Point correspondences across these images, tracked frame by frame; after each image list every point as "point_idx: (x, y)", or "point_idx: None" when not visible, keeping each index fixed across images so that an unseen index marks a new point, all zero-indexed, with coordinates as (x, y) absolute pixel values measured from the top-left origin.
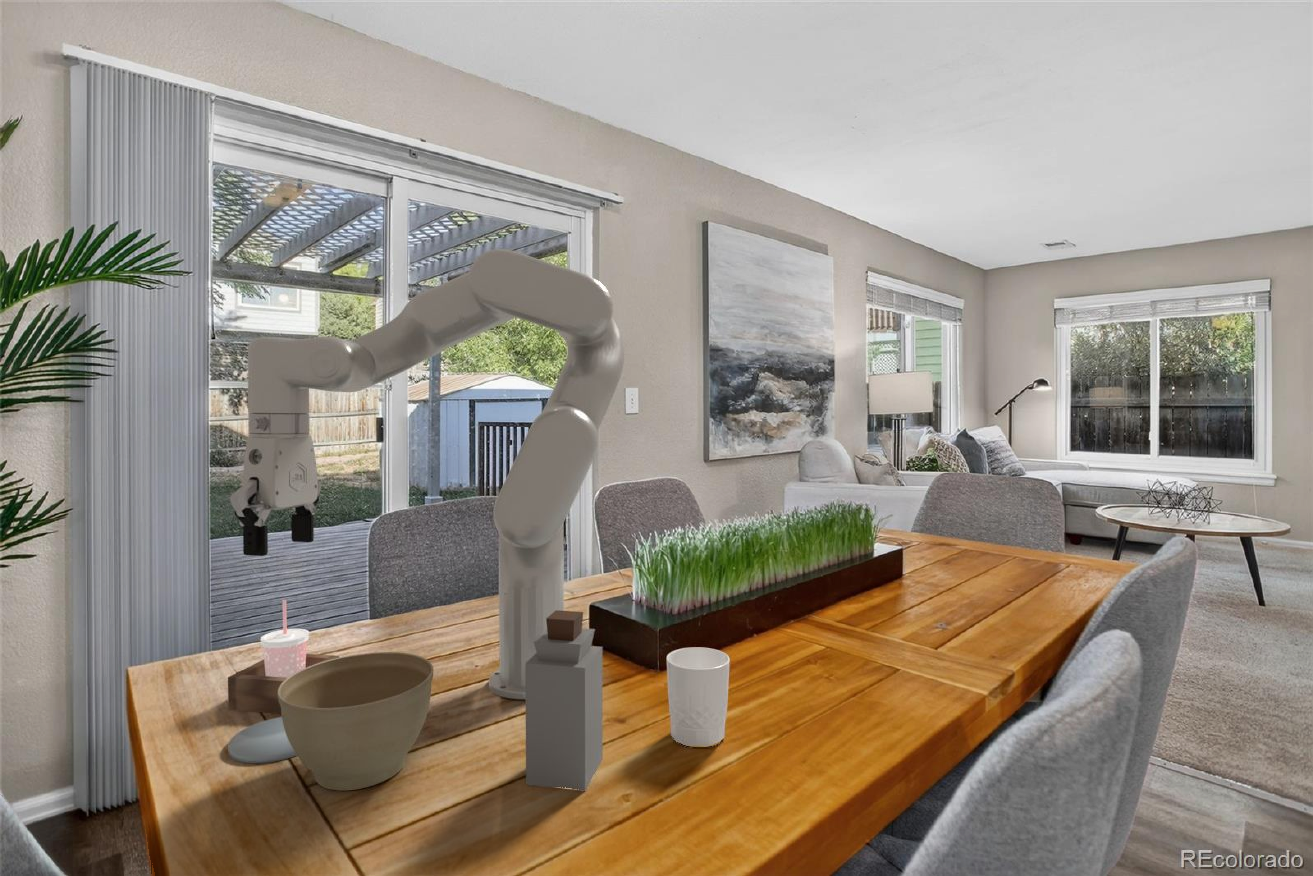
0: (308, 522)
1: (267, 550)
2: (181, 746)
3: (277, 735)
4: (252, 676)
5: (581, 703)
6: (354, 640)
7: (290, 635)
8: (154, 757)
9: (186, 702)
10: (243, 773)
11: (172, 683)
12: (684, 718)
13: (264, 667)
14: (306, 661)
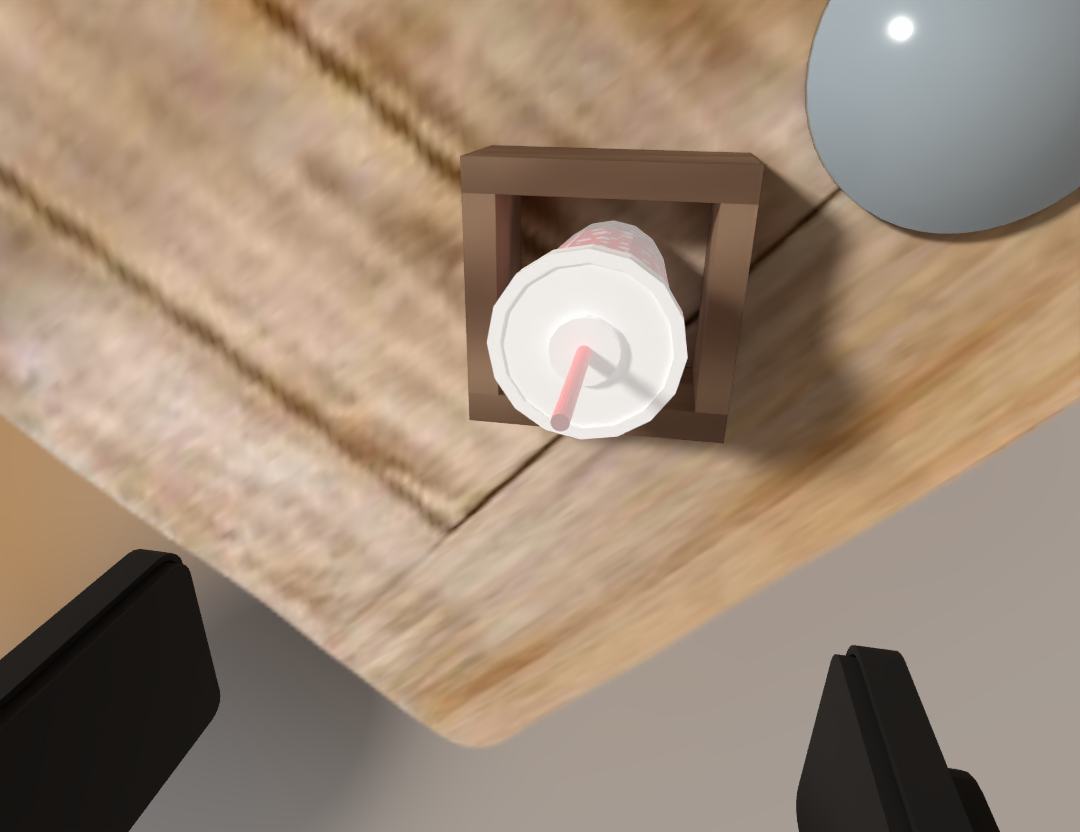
0: (22, 729)
1: (865, 671)
2: (976, 371)
3: (992, 70)
4: (711, 366)
5: None
6: (122, 338)
7: (595, 318)
8: (1046, 398)
9: (667, 536)
10: None
11: (549, 637)
12: None
13: None
14: (501, 281)
